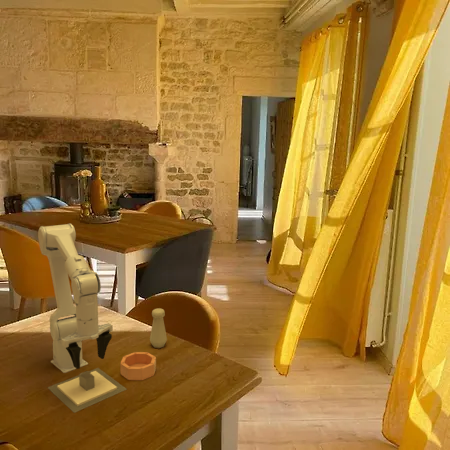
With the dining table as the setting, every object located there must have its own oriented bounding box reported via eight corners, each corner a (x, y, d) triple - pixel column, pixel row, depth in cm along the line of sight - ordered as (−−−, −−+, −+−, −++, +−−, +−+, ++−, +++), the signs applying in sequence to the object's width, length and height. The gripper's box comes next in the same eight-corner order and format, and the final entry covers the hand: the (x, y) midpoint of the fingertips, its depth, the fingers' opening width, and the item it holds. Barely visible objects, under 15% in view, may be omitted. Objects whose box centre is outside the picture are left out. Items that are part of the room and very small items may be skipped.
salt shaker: (163, 350, 153) (163, 314, 150) (147, 348, 154) (147, 312, 151) (169, 342, 158) (169, 307, 155) (153, 340, 159) (153, 305, 157)
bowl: (115, 371, 139) (114, 359, 138) (142, 360, 146) (142, 349, 145) (134, 385, 132) (133, 372, 131) (161, 372, 139) (161, 360, 138)
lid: (57, 387, 129) (56, 374, 128) (95, 372, 137) (95, 360, 136) (77, 406, 120) (76, 392, 120) (117, 389, 129) (116, 375, 128)
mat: (47, 388, 129) (47, 387, 129) (98, 368, 140) (98, 367, 140) (74, 414, 118) (74, 412, 118) (127, 390, 129) (127, 389, 129)
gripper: (70, 329, 116) (72, 377, 119) (118, 313, 127) (119, 358, 130) (56, 321, 121) (59, 367, 124) (104, 306, 131) (105, 349, 134)
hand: (89, 362), depth 127 cm, fingers open, 7 cm apart
